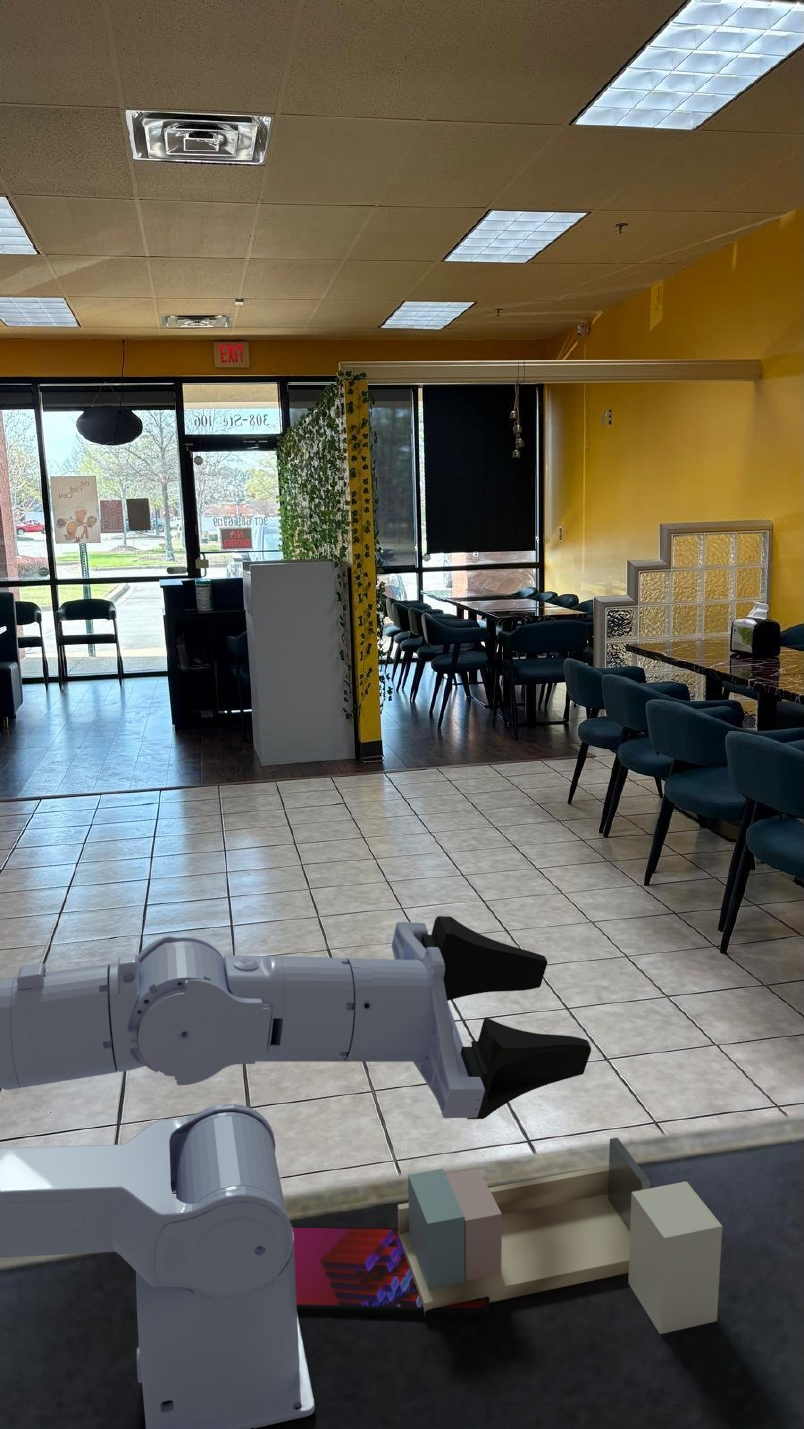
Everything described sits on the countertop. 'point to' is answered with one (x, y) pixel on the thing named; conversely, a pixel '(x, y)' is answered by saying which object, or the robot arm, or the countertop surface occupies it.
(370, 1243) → the smartphone
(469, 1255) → the shelved books
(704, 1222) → the book
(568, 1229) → the shelf board
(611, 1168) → the bookend
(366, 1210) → the countertop surface
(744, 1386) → the countertop surface
